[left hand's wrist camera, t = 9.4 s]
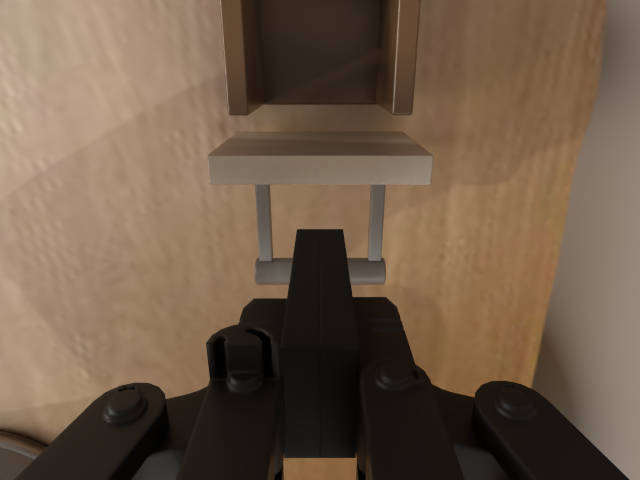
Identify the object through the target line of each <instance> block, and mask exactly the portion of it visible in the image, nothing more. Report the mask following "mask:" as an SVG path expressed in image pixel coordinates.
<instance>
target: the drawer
mask: <svg viewBox="0 0 640 480" xmlns="http://www.w3.org/2000/svg"><path fill="white" fill-rule="evenodd" d="M420 3H421V0H220V10H221V24H222V37H223V50H224V64H225V77H226V91H227V104H228V114H229V115H248V114H250V113H252V112H253V111H255V110H256V109H258V108H259V107H261V106H262V105H264V104H377V105H379V106H380V107H382V108H383V109H385V110H386V111H388V112H390V113H391V114H393V115H411V114H412V111H413V97H414V84H415V70H416V57H417V43H418V30H419V16H420ZM207 160H208V171H209V182H210V184H211V185H255V190H256V208H257V226H258V244H259V258H257V259H256V263H255V281H256V284H257V285H289V283H290V276H291V269H292V262H293V258H273V244H272V221H271V198H270V185H371V189H370V212H369V235H368V258H347V262H348V269H349V276H350V283H351V285H383V284H384V283H385V277H386V267H385V260H384V258H381V253H382V235H383V217H384V199H385V185H430V184H431V177H432V167H433V155H432V154H431V153H429V152H428V151H427V150H425V149H424V148H423V147H422V146H420V145H419V144H418V143H416V142H415V141H414V140H413V139H411V138H410V137H409V136H407V135H406V134H405V133H404V132H237V133H236V134H234V135H233V136H232V137H231V138H229V139H228V140H227V141H226V142H224V143H223V144H222V145H220V146H219V147H218V148H217V149H215V150H214V151H213V152H211V153H210V154H209V155H208V156H207Z"/></svg>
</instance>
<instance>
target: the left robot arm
mask: <svg viewBox="0 0 640 480" xmlns="http://www.w3.org/2000/svg"><path fill="white" fill-rule="evenodd" d="M206 346H207V355H208V364H209V373H210V382H209V385H208V386H207V387H205V388H203V389H201V390H199V391H197V392H193V393H190V394H187V395H183V396H178V397H174V398H169V399H165V394H164V393H163V391H162V390H161V389H160V388H159V387H157V386H155V385H152V384H149V383H131V384H127V385H122V386H119V387H117V388H114V389H112V390H110V391H108V392H106V393H104V394H103V395H102V396H100V397H99V398H98V399H96V400H95V401H94V402H93V403H92V404H91V405H89V406H88V407H87V408H86V409H85V410H84V411H83V412H82V413H81V414H80V415H79V416H78V417H77V418H76V419H75V420H74V421H73V422H72V423H71V424H70V425H69V426H68V427H67V428H66V429H65V430H64V431H63V432H62V433H61V434H60V435H59V436H58V437H57V438H56V439H55V440H54V441H53V442H52V443H51V444H50V445H49V446H48V447H46V446H44V445H42V444H40V443H38V442H36V441H33V440H31V439H28V438H25V437H22V436H19V435H16V434H12V433H7V432H3V431H0V480H284V473H283V458H356V455H357V473H356V480H629V479H628V478H627V477H626V476H625V475H624V474H623V473H622V472H621V471H620V470H619V469H618V468H617V467H616V466H615V465H614V464H613V463H612V462H611V461H610V460H609V459H608V458H607V457H605V456H604V455H603V454H602V453H601V452H600V451H599V450H598V449H597V448H596V447H595V446H594V445H593V444H592V443H591V442H590V441H589V440H588V439H587V438H586V437H585V436H584V435H583V434H582V433H581V432H580V431H579V430H578V429H577V428H576V427H575V426H574V425H573V424H571V422H569V421H568V420H567V419H566V418H565V417H564V416H563V415H562V414H561V413H560V412H559V411H558V410H557V409H556V408H555V407H554V406H553V405H552V404H551V403H550V402H549V401H548V400H547V399H546V398H544V397H543V396H542V395H540V394H539V393H537V392H536V391H535V390H533V389H530V388H528V387H526V386H524V385H521V384H518V383H513V382H509V381H491V382H489V383H486V384H483V385H481V386H480V388H479V389H478V390H477V391H476V393H475V398H474V397H470V396H466V395H461V394H457V393H453V392H449V391H446V390H443V389H441V388H439V387H437V386H434V385H433V384H431V381H430V379H429V377H428V376H427V374H426V373H425V371H424V370H422V369H421V368H420V367H418V366H417V365H416V364H415V362H414V359H413V356H412V353H411V350H410V346H409V343H408V340H407V337H406V334H405V331H404V328H403V325H402V322H401V320H400V315H399V312H398V309H397V307H396V306H395V305H394V304H393V303H392V302H391V301H390V300H388V299H387V298H386V297H352V290H351V283H350V276H349V269H348V262H347V255H346V248H345V241H344V234H343V229H297V234H296V241H295V248H294V255H293V262H292V269H291V276H290V283H289V290H288V297H287V299H253V300H252V301H251V302H250V303H249V304H248V305H247V306H245V307H244V308H243V311H242V314H241V317H240V322H239V323H238V325H233V326H230V327H227V328H224V329H221V330H220V331H218V332H217V333H215V334H213V335H212V336H211V337H210V339H209V340H208V341H207V343H206Z"/></svg>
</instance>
